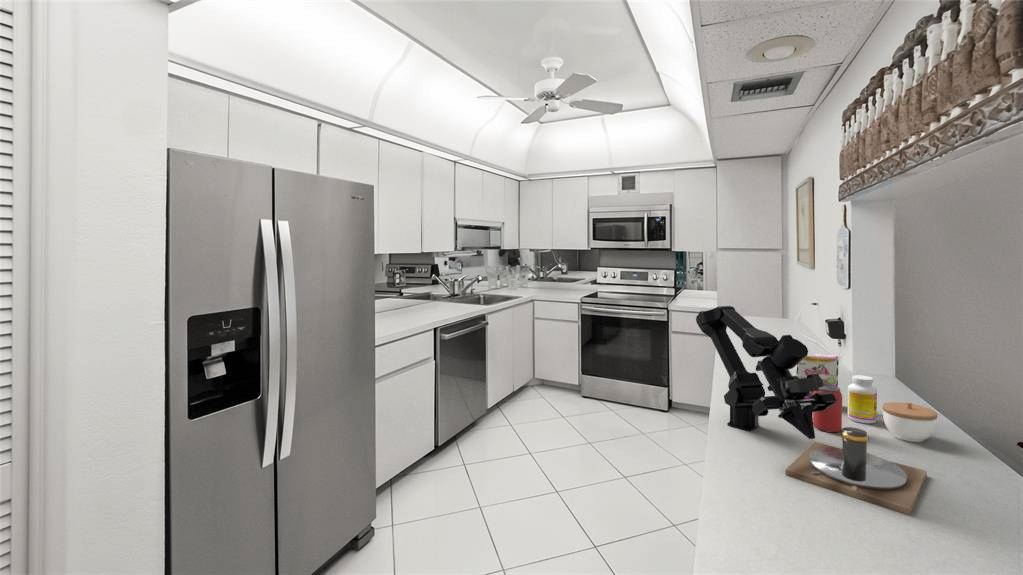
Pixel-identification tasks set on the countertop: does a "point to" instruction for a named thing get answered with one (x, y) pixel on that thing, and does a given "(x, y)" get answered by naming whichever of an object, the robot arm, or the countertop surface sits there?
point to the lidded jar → (909, 421)
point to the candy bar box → (819, 369)
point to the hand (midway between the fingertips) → (812, 438)
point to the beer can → (829, 412)
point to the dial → (857, 464)
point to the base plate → (890, 499)
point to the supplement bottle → (862, 400)
